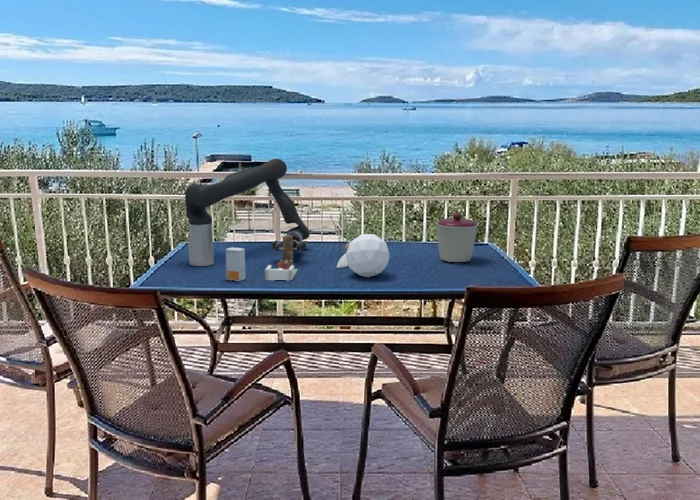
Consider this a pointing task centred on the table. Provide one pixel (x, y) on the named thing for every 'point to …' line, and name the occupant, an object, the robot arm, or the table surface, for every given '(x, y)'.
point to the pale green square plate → (294, 271)
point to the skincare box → (235, 264)
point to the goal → (279, 274)
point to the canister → (456, 238)
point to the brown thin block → (287, 251)
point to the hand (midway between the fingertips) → (287, 248)
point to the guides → (289, 262)
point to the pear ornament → (366, 255)
